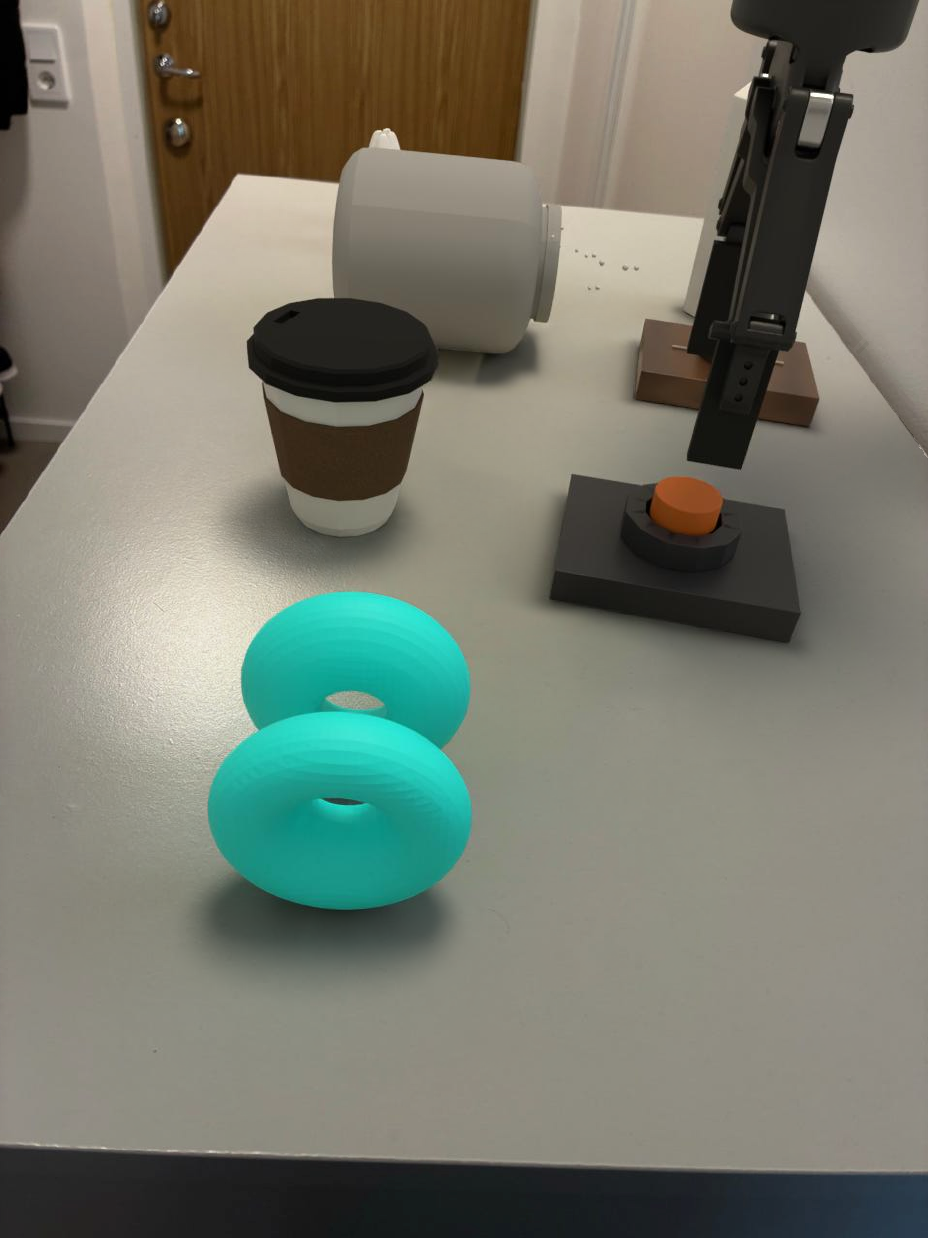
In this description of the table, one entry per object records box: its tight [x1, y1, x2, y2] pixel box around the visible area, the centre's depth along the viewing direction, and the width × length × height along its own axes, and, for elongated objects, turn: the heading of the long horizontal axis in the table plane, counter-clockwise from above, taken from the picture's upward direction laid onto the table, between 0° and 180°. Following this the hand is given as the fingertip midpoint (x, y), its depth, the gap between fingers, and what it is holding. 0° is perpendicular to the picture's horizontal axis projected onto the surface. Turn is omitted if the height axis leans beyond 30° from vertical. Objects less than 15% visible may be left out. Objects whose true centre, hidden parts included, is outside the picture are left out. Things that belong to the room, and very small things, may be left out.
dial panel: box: [634, 318, 820, 427], centre depth 80 cm, size 14×11×3 cm
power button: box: [650, 475, 724, 536], centre depth 56 cm, size 4×4×2 cm
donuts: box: [207, 590, 473, 911], centre depth 39 cm, size 10×10×10 cm
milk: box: [682, 80, 773, 318], centre depth 85 cm, size 6×6×22 cm
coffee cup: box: [246, 297, 440, 538], centre depth 57 cm, size 11×11×12 cm
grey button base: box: [549, 473, 802, 643], centre depth 58 cm, size 14×11×4 cm
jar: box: [331, 147, 640, 354], centre depth 78 cm, size 19×15×25 cm
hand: (710, 403), depth 52 cm, fingers open, 13 cm apart
